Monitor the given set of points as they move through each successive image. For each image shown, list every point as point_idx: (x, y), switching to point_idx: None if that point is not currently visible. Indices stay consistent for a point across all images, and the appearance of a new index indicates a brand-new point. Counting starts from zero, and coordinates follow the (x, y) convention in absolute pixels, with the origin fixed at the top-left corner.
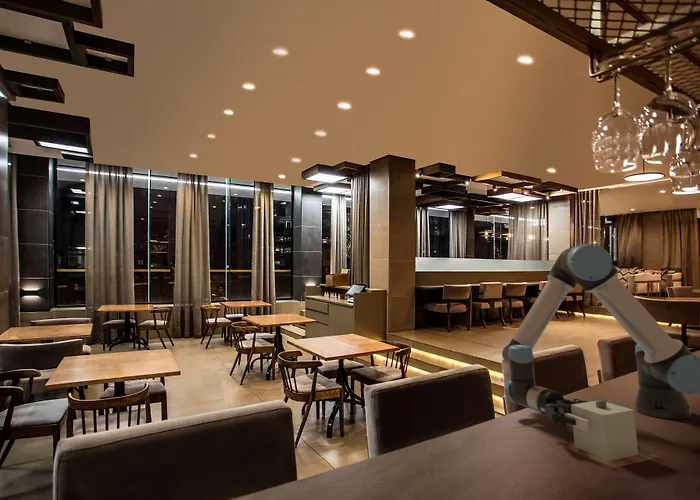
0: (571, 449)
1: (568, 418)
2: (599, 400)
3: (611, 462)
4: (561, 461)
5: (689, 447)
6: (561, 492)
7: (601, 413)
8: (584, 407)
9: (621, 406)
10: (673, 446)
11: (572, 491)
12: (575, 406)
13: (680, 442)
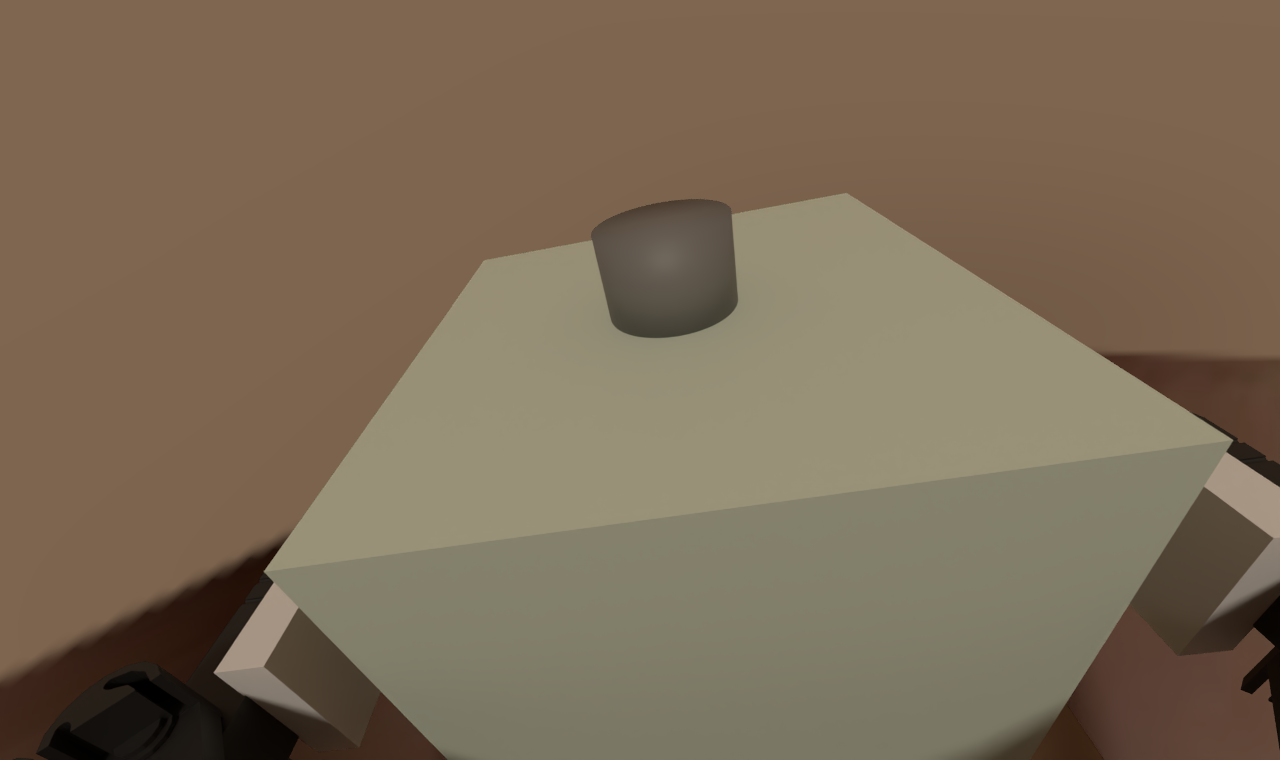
0: (1063, 751)
1: (1244, 451)
2: (653, 231)
3: None
4: (1205, 672)
5: (164, 611)
6: (1228, 366)
7: (834, 210)
8: (932, 309)
9: (450, 310)
10: (190, 651)
11: (1159, 368)
12: (1105, 365)
13: (67, 693)
